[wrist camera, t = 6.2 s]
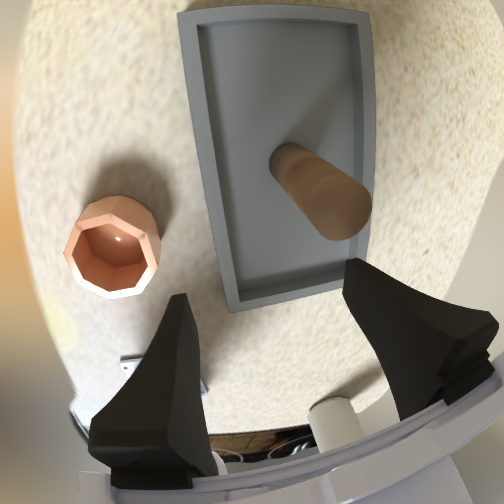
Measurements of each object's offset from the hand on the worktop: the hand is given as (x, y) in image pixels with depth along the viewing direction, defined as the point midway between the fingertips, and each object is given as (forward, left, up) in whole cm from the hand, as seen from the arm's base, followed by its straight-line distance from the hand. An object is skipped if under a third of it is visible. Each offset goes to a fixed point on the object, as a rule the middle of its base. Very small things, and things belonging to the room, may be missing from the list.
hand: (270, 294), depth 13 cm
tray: (+3, -4, -10) cm, 11 cm away
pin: (+3, -4, -9) cm, 10 cm away
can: (-37, -10, -10) cm, 40 cm away
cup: (0, +9, -10) cm, 13 cm away
